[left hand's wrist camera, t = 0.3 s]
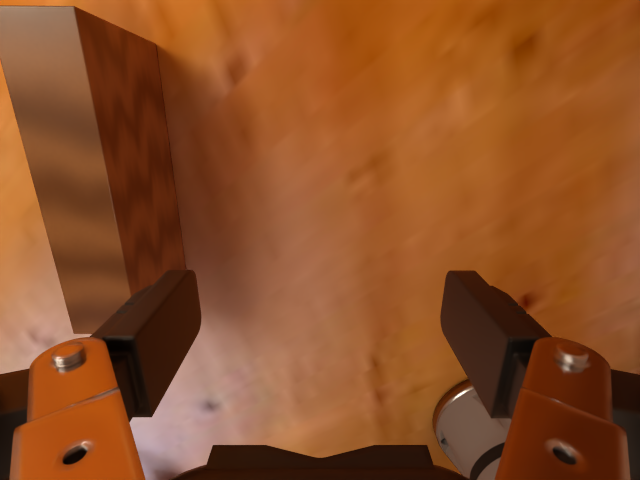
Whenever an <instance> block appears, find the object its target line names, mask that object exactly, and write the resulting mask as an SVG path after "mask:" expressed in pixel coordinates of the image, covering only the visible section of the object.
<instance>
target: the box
mask: <svg viewBox="0 0 640 480" xmlns="http://www.w3.org/2000/svg"><path fill="white" fill-rule="evenodd" d="M0 60H1V64H2V68H3V72H4V75H5V79H6V83H7V86H8V90H9V94H10V98H11V101H12V105H13V109H14V112H15V116H16V120H17V124H18V127H19V131H20V135H21V139H22V142H23V146H24V150H25V153H26V157H27V161H28V165H29V168H30V172H31V176H32V180H33V183H34V187H35V191H36V194H37V198H38V202H39V206H40V209H41V213H42V217H43V221H44V224H45V228H46V232H47V235H48V239H49V243H50V247H51V250H52V254H53V258H54V261H55V265H56V269H57V273H58V276H59V280H60V284H61V288H62V291H63V295H64V299H65V302H66V306H67V310H68V314H69V317H70V321H71V325H72V329H73V332H74V334H93V333H94V332H95V331H96V330H97V329H98V328H99V327H100V326H102V325H103V324H104V323H105V322H106V321H107V320H108V319H109V318H110V317H111V316H112V315H113V314H114V313H116V311H117V310H118V309H119V308H120V307H121V306H122V305H125V302H126V301H127V300H128V299H129V298H130V297H131V296H132V295H133V294H135V293H136V292H138V291H140V290H142V289H144V288H146V287H147V286H149V285H153V284H154V283H155V282H156V281H157V280H158V279H159V278H160V277H161V276H162V275H163V274H164V273H165V272H166V271H167V270H186V266H185V259H184V251H183V244H182V236H181V229H180V221H179V214H178V207H177V199H176V192H175V184H174V177H173V169H172V162H171V154H170V147H169V139H168V132H167V124H166V117H165V109H164V102H163V94H162V87H161V79H160V72H159V64H158V57H157V49H156V44H155V43H153V42H151V41H148V40H146V39H144V38H142V37H140V36H138V35H135V34H133V33H131V32H129V31H127V30H125V29H122V28H120V27H118V26H116V25H114V24H112V23H109V22H107V21H105V20H103V19H101V18H99V17H96V16H94V15H92V14H90V13H88V12H86V11H83V10H81V9H79V8H77V7H75V6H0Z"/></svg>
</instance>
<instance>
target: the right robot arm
mask: <svg viewBox="0 0 640 480" xmlns="http://www.w3.org/2000/svg"><path fill="white" fill-rule="evenodd" d="M510 424H511V419H510V418H490V416H489V414H488V412H487V410H486V409H485V407H484V405H483V403H482V401H481V400H480V398H479V396H478V394H477V393H476V391H475V389H474V387H473V385H472V384H471V382H470V380H469V379H468V380H466V381H463V382H462V383H460V384H458V385H456V386H455V387H453V388H452V389H451V390H449V391H448V392H447V393H446V394H445V395H444V396H443V397H442V399H441V400H440V401H439V403H438V405H437V407H436V409H435V411H434V415H433V428H434V432H435V435H436V437H437V440H438V443H439V445H440V447H441V449H442V450H443V451H444V453H445V454H446V455H447V456H448V458H449V459H450V460H451V461H452V463H453V464H454V465H455V466H456V468H457V469H458V470H459V471H460V473H461V474H462V475H463V476H465V477H467V478H468V479H470V480H495V476H496V473H497V469H498V466H499V462H500V459H501V455H502V452H503V448H504V445H505V441H506V438H507V434H508V431H509V427H510Z"/></svg>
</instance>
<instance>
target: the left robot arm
mask: <svg viewBox="0 0 640 480" xmlns="http://www.w3.org/2000/svg"><path fill="white" fill-rule="evenodd" d="M200 326H201V309H200V302H199V294H198V287H197V280H196V275H195V273H194V271H193V270H167V271H166V272H165V273H164V274H163V275H162V276H161V277H160V278H159V279H158V280H157V281H156V282H155V283H154V284H153V285H149V286H147V287H146V288H144V289H142V290H140V291H138V292H136V293H135V294H133V295H132V296H131V297H130V298H129V299H128V300H127V301H126V302H125V305H122V306H121V307H120V308H119V309H118V310H117V311H116V313H114V314H113V315H112V316H111V317H110V318H109V319H108V320H107V321H106V322H105V323H104V324H103V325H102V326H100V327H99V328H98V329H97V330H96V331H95V332H94V333H93V334H92V335H91V336H90V337H84V338H78V339H73V340H69V341H66V342H63V343H61V344H58V345H56V346H54V347H52V348H50V349H48V350H46V351H45V352H43V353H42V354H41V355H39V356H38V357H37V358H36V359H35V360H34V361H33V362H32V364H31V366H30V369H25V370H20V371H15V372H10V373H5V374H0V480H145V476H144V473H143V469H142V466H141V462H140V459H139V455H138V452H137V448H136V445H135V441H134V438H133V434H132V431H131V427H130V424H129V422H130V421H131V419H132V417H152V416H153V414H154V412H155V410H156V409H157V407H158V405H159V403H160V401H161V400H162V398H163V396H164V394H165V392H166V391H167V389H168V387H169V385H170V383H171V382H172V380H173V378H174V376H175V374H176V373H177V371H178V369H179V367H180V365H181V364H182V362H183V360H184V358H185V356H186V354H187V353H188V351H189V349H190V347H191V345H192V344H193V342H194V340H195V338H196V336H197V335H198V333H199V330H200ZM441 327H442V331H443V334H444V336H445V337H446V339H447V341H448V343H449V344H450V346H451V348H452V350H453V352H454V353H455V355H456V357H457V359H458V360H459V362H460V364H461V366H462V368H463V369H464V371H465V373H466V375H467V377H468V378H469V380H470V382H471V384H472V385H473V387H474V389H475V391H476V393H477V394H478V396H479V398H480V400H481V401H482V403H483V405H484V407H485V409H486V410H487V412H488V414H489V416H490V418H510V419H511V424H510V427H509V431H508V434H507V438H506V441H505V445H504V448H503V452H502V455H501V459H500V462H499V466H498V469H497V473H496V476H495V480H640V375H638V374H633V373H628V372H623V371H617V370H612V369H610V366H609V364H608V362H607V361H606V360H605V359H604V358H603V357H602V356H601V355H599V354H598V353H597V352H595V351H594V350H592V349H590V348H588V347H586V346H584V345H582V344H579V343H577V342H574V341H571V340H567V339H562V338H556V337H552V336H551V335H550V334H549V333H548V332H547V331H546V330H545V329H544V328H543V327H542V326H540V325H539V324H538V323H537V322H536V321H535V320H534V319H533V318H532V317H531V316H530V315H529V314H526V311H525V310H524V309H523V308H522V307H521V306H518V303H517V302H515V301H514V300H513V299H512V298H511V297H510V296H509V295H508V294H507V293H505V292H503V291H501V290H499V289H497V288H496V287H494V286H489V285H488V284H487V283H486V281H485V280H484V279H483V278H482V277H481V276H480V275H479V274H478V273H477V272H475V271H449V272H448V273H447V275H446V280H445V287H444V294H443V301H442V308H441ZM170 480H470V479H468V478H467V477H465V476H462V475H460V474H458V473H456V472H454V471H451V470H449V469H446V468H443V467H440V466H437V465H433V462H432V459H431V456H430V453H429V450H428V447H427V445H373V446H369V447H365V448H361V449H357V450H353V451H349V452H345V453H341V454H337V455H333V456H329V457H325V458H315V457H311V456H307V455H303V454H299V453H295V452H291V451H287V450H283V449H279V448H275V447H271V446H267V445H213V447H212V450H211V453H210V456H209V459H208V462H207V465H203V466H200V467H197V468H194V469H191V470H189V471H186V472H184V473H182V474H180V475H178V476H175V477H173V478H172V479H170Z"/></svg>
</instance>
